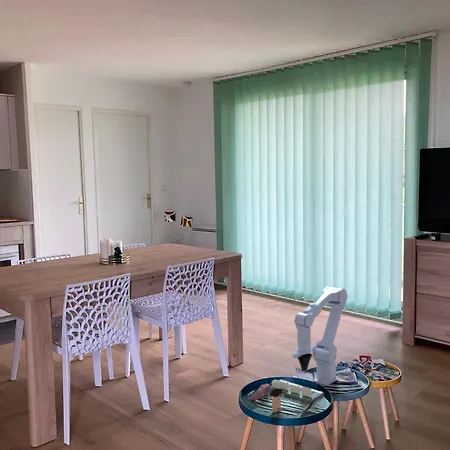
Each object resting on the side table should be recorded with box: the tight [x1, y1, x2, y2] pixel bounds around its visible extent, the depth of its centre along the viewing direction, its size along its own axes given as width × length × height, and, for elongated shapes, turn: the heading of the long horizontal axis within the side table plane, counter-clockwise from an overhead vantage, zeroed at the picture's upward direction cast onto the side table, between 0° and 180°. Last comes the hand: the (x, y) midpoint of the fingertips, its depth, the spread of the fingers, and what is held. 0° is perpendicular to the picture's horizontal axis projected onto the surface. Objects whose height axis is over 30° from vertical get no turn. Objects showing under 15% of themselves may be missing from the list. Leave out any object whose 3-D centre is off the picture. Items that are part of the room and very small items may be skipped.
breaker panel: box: [278, 381, 325, 405], centre depth 223 cm, size 11×19×2 cm, turn 48°
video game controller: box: [250, 383, 272, 401], centre depth 220 cm, size 10×5×7 cm, turn 146°
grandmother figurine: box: [267, 379, 285, 413], centre depth 207 cm, size 8×4×13 cm, turn 131°
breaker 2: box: [302, 386, 313, 397], centre depth 217 cm, size 2×4×3 cm, turn 48°
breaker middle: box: [290, 382, 301, 394], centre depth 221 cm, size 2×4×3 cm, turn 48°
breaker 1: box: [278, 379, 289, 390], centre depth 225 cm, size 2×4×3 cm, turn 48°
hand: (304, 370), depth 226 cm, fingers closed
